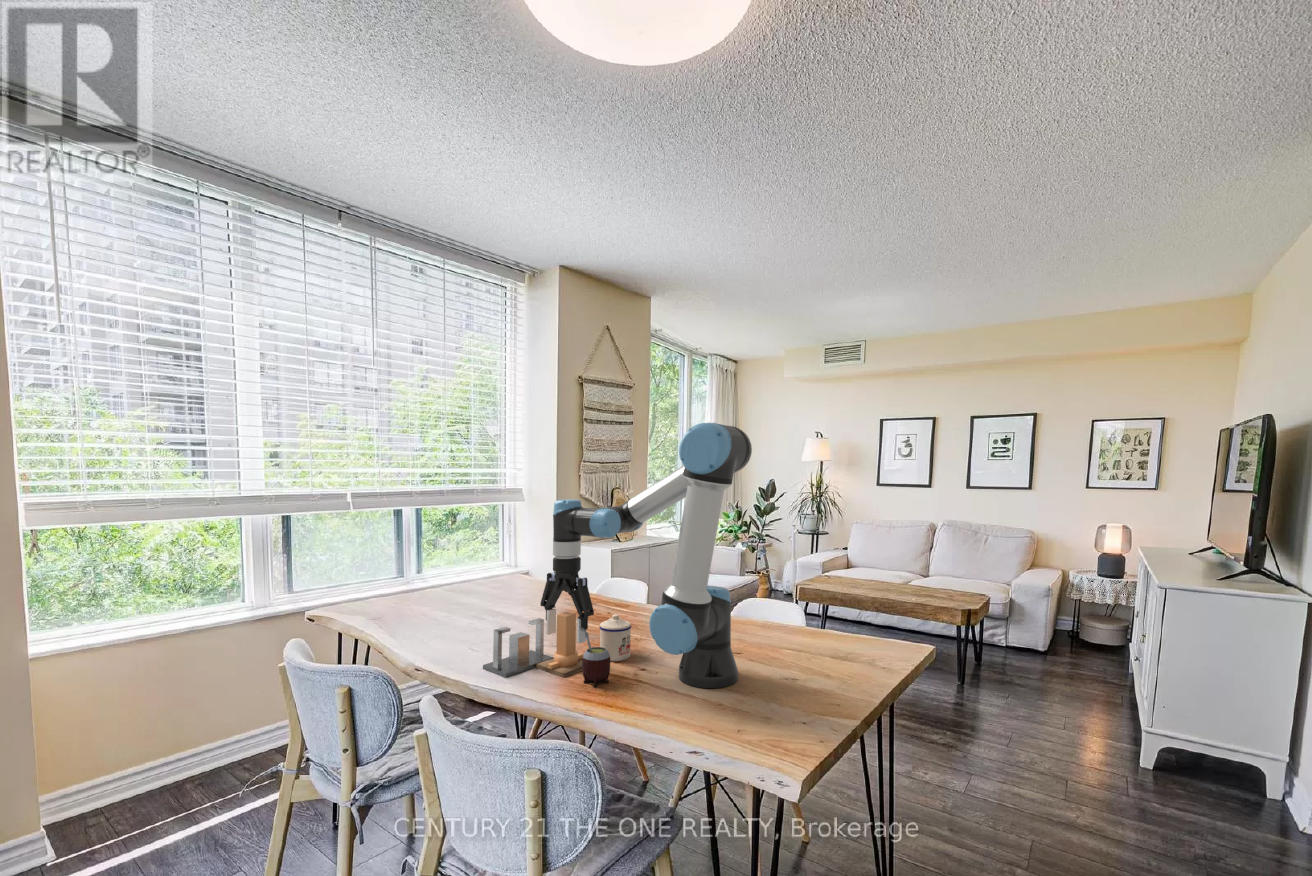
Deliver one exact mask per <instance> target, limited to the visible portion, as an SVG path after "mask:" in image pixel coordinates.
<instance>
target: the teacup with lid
mask: <svg viewBox="0 0 1312 876" xmlns="http://www.w3.org/2000/svg"><path fill="white" fill-rule="evenodd" d="M599 629H600V630H599V631H600V632H599V647H603V648H605V649H606V650H607V651H608V652H609V654H610V661H611V662H621V661H622V662H623V661H626V660H627V659H629V658H630V657H631V629H632V624H631V623H630V621H628V620H625V619H623V618H621V617H620V615H619V614H617V613H616V614H615V613H614V614H612V615H611V617H610V618H609V619H607V620H604V621H602V622H601V623H600V624H599Z"/></svg>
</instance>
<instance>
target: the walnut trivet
mask: <svg viewBox="0 0 1312 876" xmlns="http://www.w3.org/2000/svg"><path fill="white" fill-rule="evenodd" d="M582 659H583V658H582ZM582 659H579V660H578V664H577V665H575V666H571V667H556V668H554V669H549V668H547V664H549V663H552V662H554V658H553V659H550V660H547V661H544V662H541V663H538V664H536V667H535V668H536V669H537V670H538V669H539V670H541V671H543V672H544V671H545V672H547V673H550V674H553V675H555V676H558V677H561V678H566V677H569V676H572V675H574V674H577V673H580V672H583V671H582Z"/></svg>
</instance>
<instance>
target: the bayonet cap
mask: <svg viewBox="0 0 1312 876" xmlns="http://www.w3.org/2000/svg"><path fill="white" fill-rule="evenodd" d="M576 644H577V613H574V612H569V611H564V612H561V613H556V652H554V654H553V657H554V662H552V663H549V664H547V668H549V669H554V668H556V667H571V666H575V665H577V664H578V660H579V659H582V658H583V655H584V653H582V652H581V653H580V652H578V651H577V649H576Z"/></svg>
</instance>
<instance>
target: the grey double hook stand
mask: <svg viewBox="0 0 1312 876" xmlns="http://www.w3.org/2000/svg"><path fill="white" fill-rule="evenodd" d="M528 625H531V626H535V650H532V649H531V650H530V637H531V635H530V634H529V633H525V632H523V631H521V632H520V631H519V632H516V633H513V634H509V642H508V644H509V647H508V649H509V650H508V657H505V658H504V657H503V658H502V656H503V655H502V654H503V653H502V652H503V650H502V649H503V634H506V633H510V632H511V628H510V627H507V626H504V627H499V628H496V629H493V646H492V647H493V648H492V649H493V653H492V655H493V656H492V662H488V663H485V664H482V669H483V670H485V671H488V672H490V673H493V674H495V675H498V676H500V677H503V678H508V677H510V676H514V675H517V674H520V673H522V672H526V671H529V670H532V669H535V668H536V664H538V663H541V662H544V661H547V660H550V659H553V658H554V656H551V655H548V654H544V652H545V651H544V648H545V647H544V642H545V641H544V640H545V638H544V637H545V633H544V632H545V631H544V630H545V619H543V618H540V617H539V618H534V619H531V620H528Z"/></svg>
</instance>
